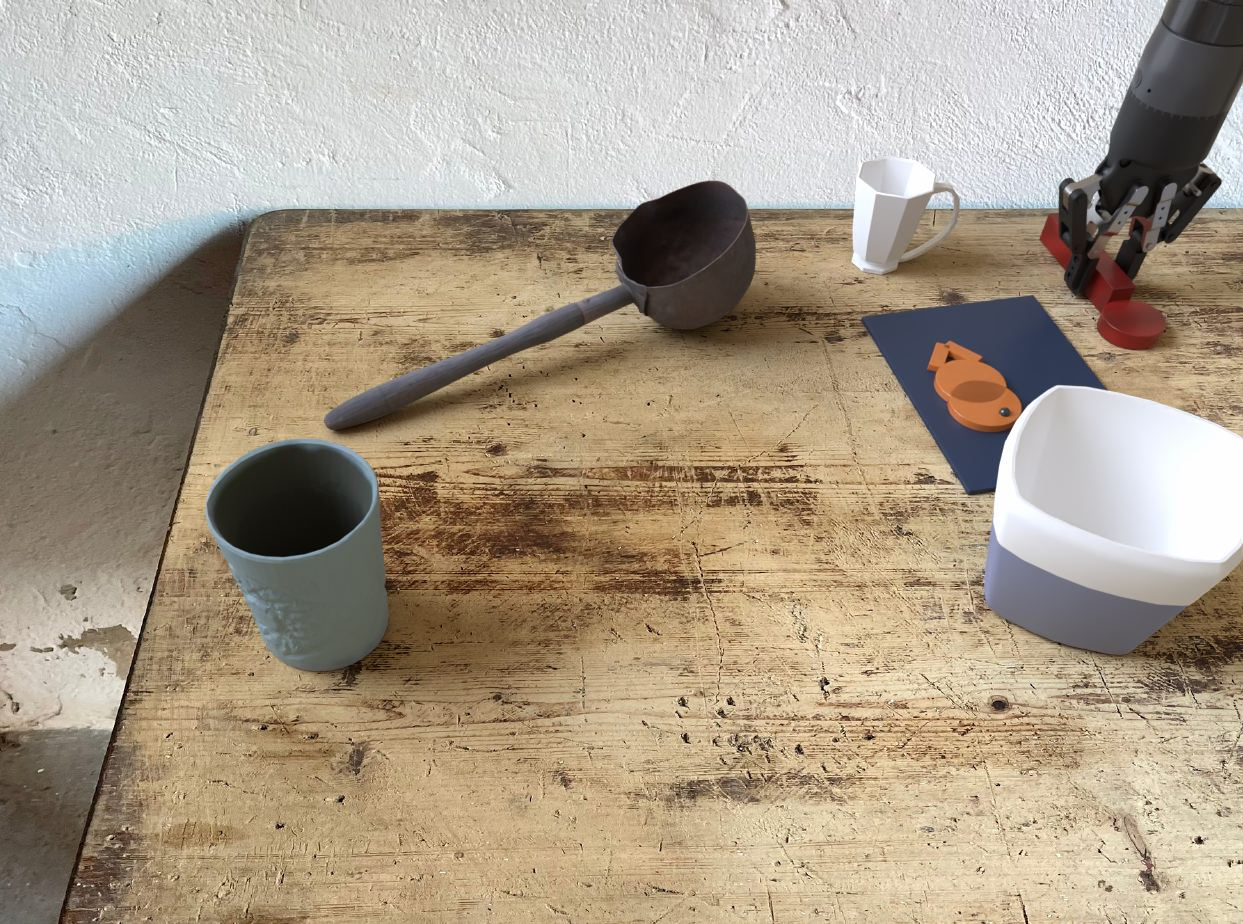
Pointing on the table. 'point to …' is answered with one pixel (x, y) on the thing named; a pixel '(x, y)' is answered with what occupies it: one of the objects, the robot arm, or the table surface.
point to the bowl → (1111, 517)
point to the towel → (1007, 342)
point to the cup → (893, 212)
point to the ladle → (616, 289)
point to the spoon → (1111, 297)
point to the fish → (973, 389)
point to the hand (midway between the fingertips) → (1095, 285)
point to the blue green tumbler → (305, 549)
